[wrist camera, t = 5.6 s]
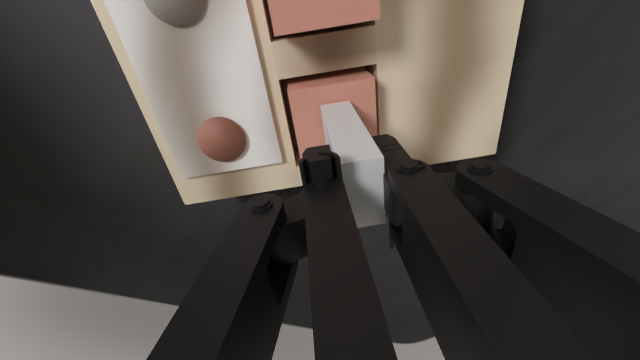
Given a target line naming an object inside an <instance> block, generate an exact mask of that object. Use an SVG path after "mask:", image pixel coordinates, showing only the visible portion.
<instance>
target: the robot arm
mask: <svg viewBox="0 0 640 360" xmlns="http://www.w3.org/2000/svg"><path fill="white" fill-rule="evenodd" d="M320 108H321V115H322V122H323V129H324V136H325V143H326V145H321V146H315V147H309V148H306V149H305V151H304V152H303V153H302V158H301V159H300V161H299V163H298V164H299V169H300V174H301V179H302V184H303V189H302V190H301V191H300V192H299V193H298V194H297V195H295V196H293V197H291V198H289V199H286V200H282V198H281V197H280V196H279V195H277V194H272V193H265V194H259V195H256V196H253V197H252V198H250V199H248V200H247V201H246V202H245V203H244V204H243V205H242V206H241V208H240V209H239V211H238V212H237V214H236V216H235V217H234V219H233V221H232V222H231V224H230V225H229V227H228V229H227V230H226V232H225V233H224V235H223V237H222V238H221V240H220V242H219V243H218V245H217V246H216V248H215V250H214V251H213V253H212V254H211V256H210V258H209V259H208V261H207V263H206V264H205V266H204V267H203V269H202V271H201V272H200V274H199V275H198V277H197V279H196V280H195V282H194V284H193V285H192V287H191V288H190V290H189V292H188V293H187V295H186V296H185V298H184V300H183V301H182V303H181V305H180V306H179V308H178V310H177V311H176V313H175V314H174V316H173V317H172V319H171V321H170V322H169V324H168V326H167V327H166V329H165V330H164V332H163V334H162V335H161V337H160V338H159V340H158V342H157V343H156V345H155V347H154V348H153V350H152V351H151V353H150V355H149V356H148V358H147V360H272V356H273V353H274V349H275V345H276V342H277V338H278V335H279V331H280V327H281V324H282V320H283V317H284V313H285V309H286V306H287V302H288V299H289V295H290V291H291V288H292V284H293V281H294V277H295V273H296V270H297V266H298V260H299V259H301V258H304V257H306V256H308V266H309V280H310V295H311V309H312V323H313V337H314V351H315V360H397V357H396V353H395V350H394V347H393V343H392V340H391V337H390V333H389V330H388V327H387V324H386V320H385V317H384V314H383V310H382V307H381V304H380V301H379V297H378V294H377V291H376V287H375V284H374V281H373V277H372V274H371V271H370V268H369V264H368V261H367V258H366V254H365V251H364V248H363V245H362V241H361V238H360V235H359V231H358V228H360V227H366V226H372V225H379V224H385V223H386V213H387V216H388V218H389V229H390V249H391V248H393V243H395V245H396V247H397V250H398V252H399V254H400V256H401V259H402V261H403V263H404V266H405V268H406V270H407V273H408V275H409V277H410V280H411V282H412V284H413V286H414V289H415V291H416V293H417V296H418V298H419V300H420V303H421V305H422V307H423V309H424V312H425V314H426V316H427V319H428V321H429V323H430V326H431V328H432V330H433V332H434V335H435V337H436V339H437V342H438V344H439V346H440V349H441V351H442V353H443V356H444V358H445V360H640V233H639V232H637V231H635V230H633V229H631V228H629V227H627V226H625V225H623V224H621V223H619V222H617V221H615V220H613V219H611V218H609V217H607V216H605V215H603V214H601V213H599V212H597V211H595V210H593V209H591V208H589V207H587V206H584V205H582V204H580V203H578V202H576V201H574V200H572V199H570V198H568V197H566V196H564V195H562V194H560V193H558V192H556V191H554V190H552V189H550V188H548V187H546V186H544V185H542V184H540V183H538V182H536V181H534V180H532V179H530V178H528V177H526V176H524V175H522V174H520V173H518V172H516V171H514V170H512V169H510V168H508V167H506V166H503V165H501V164H499V163H497V162H495V161H492V160H488V159H483V158H471V159H466V160H463V161H461V162H459V163H458V165H457V166H456V173H451V172H434V171H433V170H432V168H431V167H430V166H429V165H428V164H427V163H425V162H423V161H420V160H417V159H412V158H411V157H410V156H409V155H408V153H407V152H406V151H405V150H404V148H403V147H402V146H401V144H399V142H398V141H397V139H396V138H395V137H393V136H390V135H388V134H383V135H377V136H371V135H370V134H369V132H368V130H367V129H366V127H365V125H364V124H363V122H362V121H361V119H360V117H359V116H358V114H357V113H356V111H355V109H354V108H353V106H352V104H351V103H350V101H343V102H337V103H331V104H325V105H320ZM496 212H497V213H499V214H500V215H502V216H503V217H505V221H504V225H503V226H500V225H498V224H497V223H495V222H494V221H495V216H496Z"/></svg>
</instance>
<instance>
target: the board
mask: <svg viewBox="0 0 640 360" xmlns="http://www.w3.org/2000/svg"><path fill="white" fill-rule="evenodd" d="M90 1H91V3H92V5H93V7H94V9H95V11H96V14H97V16H98V18H99V20H100V22H101V24H102V27H103V29H104V31H105V33H106V35H107V37H108V40H109V42H110V44H111V46H112V48H113V50H114V53H115V55H116V57H117V59H118V61H119V63H120V65H121V68H122V70H123V72H124V74H125V76H126V78H127V81H128V83H129V85H130V87H131V89H132V91H133V94H134V96H135V98H136V100H137V102H138V104H139V107H140V109H141V111H142V113H143V115H144V117H145V120H146V122H147V124H148V126H149V128H150V130H151V133H152V135H153V137H154V139H155V141H156V143H157V145H158V148H159V150H160V152H161V154H162V156H163V158H164V161H165V163H166V165H167V167H168V169H169V171H170V174H171V176H172V178H173V180H174V182H175V184H176V187H177V189H178V191H179V193H180V195H181V197H182V200H183V202H184V204H185V205H188V204H194V203H200V202H206V201H213V200H219V199H225V198H231V197H237V196H243V195H249V194H255V193H261V192H267V191H273V190H279V189H286V188H292V187H298V186H303V184H302V179H301V174H300V169H299V164H298V163H299V161H300V155H299V149H298V144H297V139H296V134H295V129H294V124H293V119H292V113H291V108H290V103H289V98H288V93H287V85H288V78H293V77H299V76H305V75H311V74H317V73H324V72H330V71H336V70H342V69H348V68H354V67H360V66H362V67H363V68H364V69H366V70H367V71H368V72H369V73H370V74H372V75H373V76H374V77H375V92H376V116H377V135H383V134H388V135H390V136H393V137H395V138H396V139H397V141H398V142H399V144H401V146H402V147H403V148H404V150H405V151H406V152H407V153H408V155H409V156H410V157H411V158H412V159H417V160H420V161H423V162H425V163H427V164H428V165H431V164H438V163H444V162H450V161H456V160H462V159H468V158H474V157H480V156H486V155H492V154H496V150H497V144H498V139H499V134H500V128H501V123H502V118H503V112H504V107H505V102H506V96H507V91H508V85H509V80H510V75H511V69H512V64H513V59H514V53H515V48H516V43H517V37H518V32H519V27H520V21H521V16H522V11H523V5H524V0H380V18H381V19H378V20H372V21H366V22H360V23H354V24H348V25H342V26H336V27H329V28H323V29H317V30H311V31H305V32H299V33H293V34H286V35H280V36H274V31H273V26H272V21H271V16H270V11H269V6H268V1H267V0H90Z"/></svg>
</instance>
